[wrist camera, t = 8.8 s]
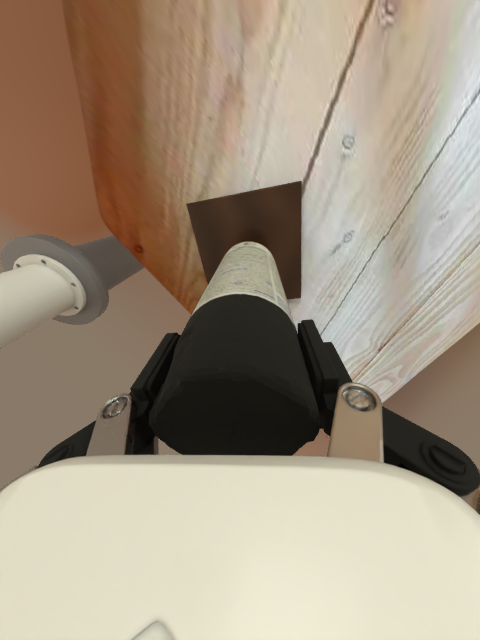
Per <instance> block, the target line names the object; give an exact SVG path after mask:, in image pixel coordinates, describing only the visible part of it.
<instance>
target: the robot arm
mask: <svg viewBox="0 0 480 640" xmlns="http://www.w3.org/2000/svg"><path fill="white" fill-rule="evenodd" d="M85 305H86V293H85V290H84V288H83V286H82V284H81V283H80V281H79V280H78V278H77V277H76V276H75V275H74V274H73V273H72V272H71V271H70V270H69V269H68V268H67V267H65V266H64V265H63V264H61V263H59V262H58V261H56V260H54V259H52V258H50V257H47V256H44V255H39V254H29V255H25V256H22V257H20V258H18V259H17V260H16V261H15V263H14V266H13V270H10V271H7V272H4V273H0V349H2V348H3V347H5V346H7V345H9V344H10V343H12V342H14V341H15V340H17V339H19V338H20V337H22V336H24V335H25V334H27V333H29V332H30V331H32V330H34V329H36V328H37V327H39V326H40V325H42V324H44V323H45V322H47V321H49V320H50V319H52V318H54V317H56V316H57V315H62V316H71V315H75V314H77V313H79V312H80V311H81V310H83V309H84V307H85ZM180 336H181V335H178V333H167V334H166V335H165V337H164V338H163V340H162V341H161V343H160V344H159V346H158V347H157V349H156V351H155V352H154V353H153V355H152V357H151V358H150V360H149V361H148V363H147V364H146V366H145V367H144V369H143V370H142V372H141V373H140V375H139V376H138V378H137V379H136V381H135V382H134V384H133V385H132V387H131V392H130V394H126V393H123V394H119V395H117V396H114V397H113V398H111V399H110V400H108V401H107V402H106V403H105V404H104V405H103V406H102V408H101V409H100V411H99V413H98V416H97V420H96V421H94V422H93V423H91V424H90V425H88V426H86V427H85V428H83V429H82V430H80V431H78V432H77V433H75V434H74V435H72V436H71V437H69V438H68V439H66V440H64V441H63V442H61V443H60V444H58V445H57V446H56V447H54V448H53V449H52V450H50V451H49V452H48V453H47V454H46V456H45V457H44V458H43V459H42V461H41V462H40V464H39V466H36V465H35V466H34V467H32V468H31V469H29V470H28V471H26V472H25V473H23V474H22V475H20V476H19V477H18V478H16V479H15V480H13V481H12V482H10V483H9V484H7V485H6V486H4V487H3V488H1V489H0V640H480V470H479V469H478V468H477V467H476V465H475V464H474V463H473V462H472V460H471V459H470V458H469V457H468V456H467V455H466V454H465V453H464V452H463V451H461V450H460V449H459V448H457V447H456V446H454V445H453V444H451V443H450V442H448V441H446V440H444V439H442V438H440V437H438V436H437V435H435V434H433V433H431V432H429V431H427V430H425V429H424V428H421V427H420V426H418V425H416V424H414V423H412V422H411V421H409V420H407V419H405V418H403V417H401V416H399V415H398V414H395V413H394V412H392V411H390V410H388V409H386V408H385V407H383V406H382V403H381V399H380V398H379V396H378V395H377V393H376V392H374V391H373V390H372V389H371V388H369V387H367V386H365V385H363V384H360V383H354V382H352V380H351V378H350V376H349V374H348V372H347V370H346V368H345V366H344V365H343V363H342V361H341V359H340V357H339V355H338V353H337V351H336V349H335V347H334V345H333V344H332V343H331V342H324V343H323V341H322V339H321V337H320V334H319V332H318V330H317V328H316V326H315V324H314V321H313V320H302V321H301V323H298V338H299V342H300V346H301V349H302V353H303V356H304V360H305V364H306V367H307V371H308V374H309V378H310V382H311V385H312V389H313V392H314V396H315V399H316V403H317V406H318V410H319V414H320V429H321V428H322V429H324V432H325V433H326V434H328V435H329V436H330V442H329V448H328V454H327V457H318V456H262V455H158V437H157V436H156V435H155V434H154V431H153V430H152V428H151V427H150V426H149V412H150V411H151V409H152V407H153V405H154V402H155V400H156V398H157V396H158V393H159V391H160V389H161V387H162V385H163V383H164V382H165V380H166V377H167V375H168V372H169V369H170V366H171V363H172V360H173V354H174V349H175V347H176V344H177V342H178V340H179V338H180Z"/></svg>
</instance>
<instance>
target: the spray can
mask: <svg viewBox="0 0 480 640" xmlns="http://www.w3.org/2000/svg"><path fill="white" fill-rule="evenodd" d="M149 426H150V427H151V428H152V430H153V431H154V434H155V435H156V436H157V437H158V438H159V439H160V440H162V441H163V442H165V443H166V444H167V445H168V446H169V447H170V448H172V449H174V450H175V451H177V452H178V453H180V454H182V455H262V456H292V455H293V454H294V453H295V452H296V451H298V449H299V448H301V447H302V446H303V445H304V444H305V443H307V442H310V441H314V439H315V438H316V436H317V434H318V433H319V429H320V414H319V410H318V406H317V403H316V399H315V396H314V392H313V389H312V385H311V382H310V378H309V374H308V371H307V367H306V364H305V360H304V356H303V353H302V349H301V346H300V342H299V338H298V334H297V331H296V328H295V325H294V321H293V319H292V315H291V312H290V308H289V305H288V302H287V299H286V296H285V293H284V289H283V286H282V283H281V280H280V276H279V273H278V270H277V266H276V263H275V260H274V258H273V256H272V254H271V253H270V251H269V250H268V249H267V248H265V247H264V246H263V245H261V244H259V243H255V242H242V243H239V244H237V245H235V246H233V247H232V248H231V249H230V250H229V251H228V252H227V253H226V255H225V256H224V258H223V260H222V261H221V263H220V265H219V267H218V269H217V270H216V272H215V274H214V276H213V278H212V279H211V281H210V283H209V285H208V286H207V288H206V290H205V292H204V294H203V295H202V297H201V299H200V301H199V303H198V304H197V306H196V308H195V310H194V312H193V313H192V315H191V317H190V319H189V321H188V323H187V325H186V327H185V329H184V331H183V333H182V335H181V336H180V338H179V340H178V342H177V344H176V347H175V349H174V354H173V360H172V363H171V366H170V369H169V372H168V375H167V377H166V380H165V382H164V383H163V385H162V387H161V389H160V391H159V393H158V396H157V398H156V400H155V402H154V405H153V407H152V409H151V411H150V412H149Z"/></svg>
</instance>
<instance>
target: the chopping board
mask: <svg viewBox="0 0 480 640" xmlns="http://www.w3.org/2000/svg"><path fill="white" fill-rule="evenodd" d="M301 183H302V181H298V182H293V183H288V184H283V185H278V186H273V187H268V188H263V189H258V190H253V191H249V192H244V193H239V194H234V195H229V196H224V197H219V198H214V199H209V200H204V201H199V202H194V203H189V204H187V208H188V212H189V215H190V219H191V223H192V227H193V230H194V234H195V238H196V241H197V245H198V249H199V252H200V256H201V260H202V264H203V267H204V271H205V275H206V278H207V282H208V285H209V283H210V281H211V279H212V278H213V276H214V274H215V272H216V270H217V269H218V267H219V265H220V263H221V261H222V260H223V258H224V256H225V255H226V253H227V252H228V251H229V250H230V249H231V248H232V247H233V246H235V245H237V244H239V243H242V242H255V243H259V244H261V245H263V246H264V247H265V248H267V249H268V250H269V251H270V253H271V254H272V256H273V258H274V260H275V263H276V266H277V270H278V273H279V276H280V280H281V283H282V286H283V289H284V293H285V296H286V299H294V298H301Z"/></svg>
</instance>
